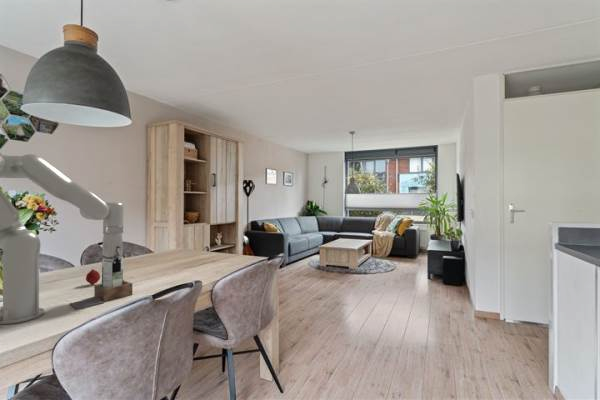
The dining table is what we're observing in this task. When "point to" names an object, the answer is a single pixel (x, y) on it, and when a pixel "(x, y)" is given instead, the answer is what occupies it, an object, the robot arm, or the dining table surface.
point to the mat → (86, 303)
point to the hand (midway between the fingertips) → (112, 270)
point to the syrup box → (111, 274)
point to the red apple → (93, 277)
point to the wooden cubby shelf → (112, 291)
